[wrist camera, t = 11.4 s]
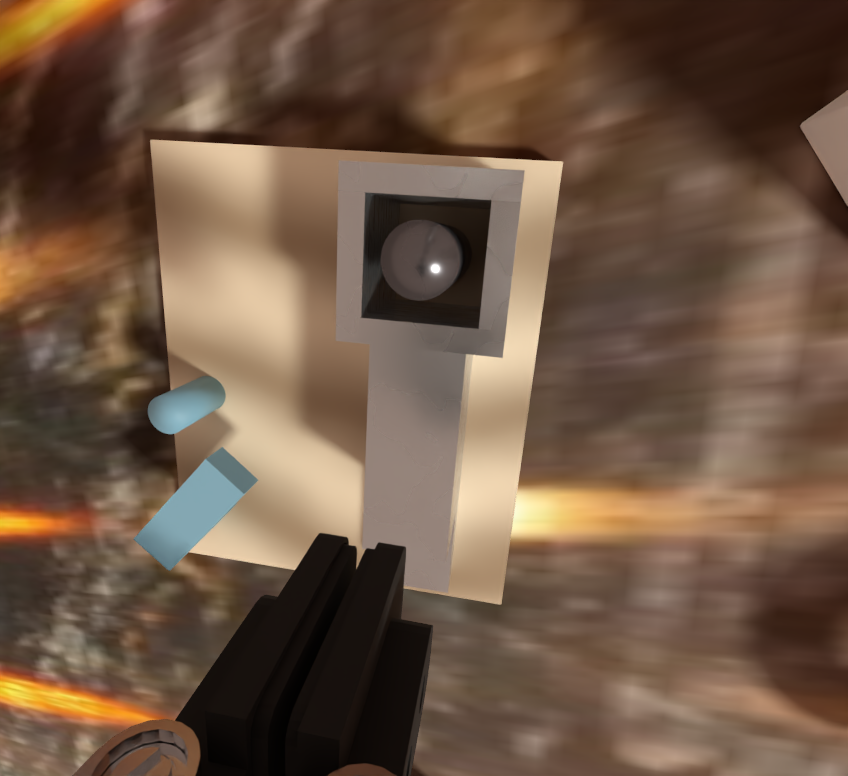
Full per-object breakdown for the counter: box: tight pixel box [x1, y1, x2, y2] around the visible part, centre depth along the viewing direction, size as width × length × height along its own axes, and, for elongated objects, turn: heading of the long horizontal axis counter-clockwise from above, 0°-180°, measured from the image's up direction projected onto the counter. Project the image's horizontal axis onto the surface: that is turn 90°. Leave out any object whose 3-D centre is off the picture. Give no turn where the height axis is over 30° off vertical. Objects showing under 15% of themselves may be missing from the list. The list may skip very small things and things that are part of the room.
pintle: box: [381, 220, 472, 301], centre depth 17 cm, size 2×2×6 cm
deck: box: [150, 140, 563, 604], centre depth 22 cm, size 19×16×1 cm
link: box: [336, 160, 525, 593], centre depth 19 cm, size 17×5×5 cm, turn 176°
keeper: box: [134, 376, 258, 571], centre depth 22 cm, size 6×5×5 cm
